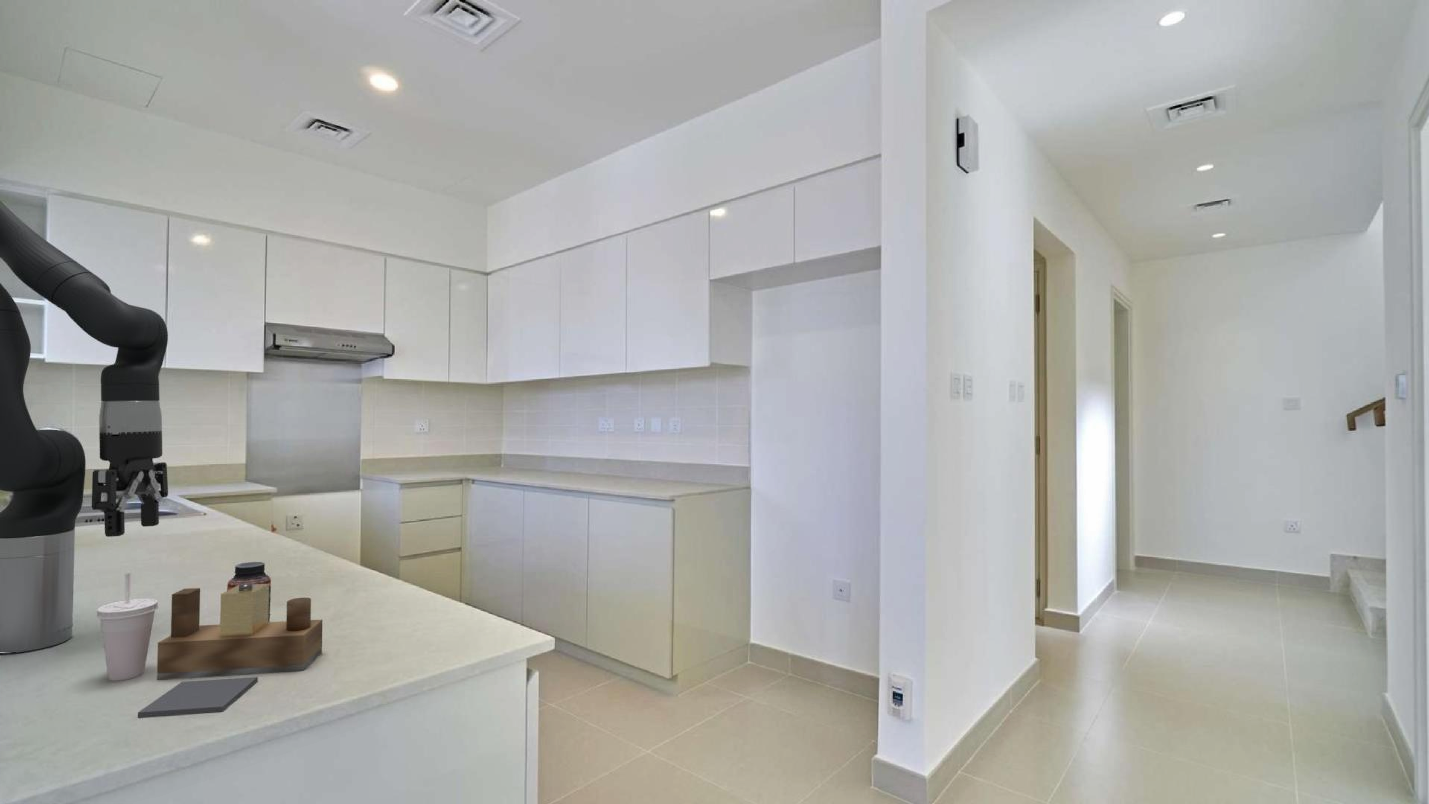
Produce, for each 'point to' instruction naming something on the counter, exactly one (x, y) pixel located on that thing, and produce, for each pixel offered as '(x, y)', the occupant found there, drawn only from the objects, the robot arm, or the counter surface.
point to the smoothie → (126, 634)
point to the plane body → (236, 643)
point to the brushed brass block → (244, 610)
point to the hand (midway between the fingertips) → (133, 530)
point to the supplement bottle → (251, 577)
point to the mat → (199, 697)
